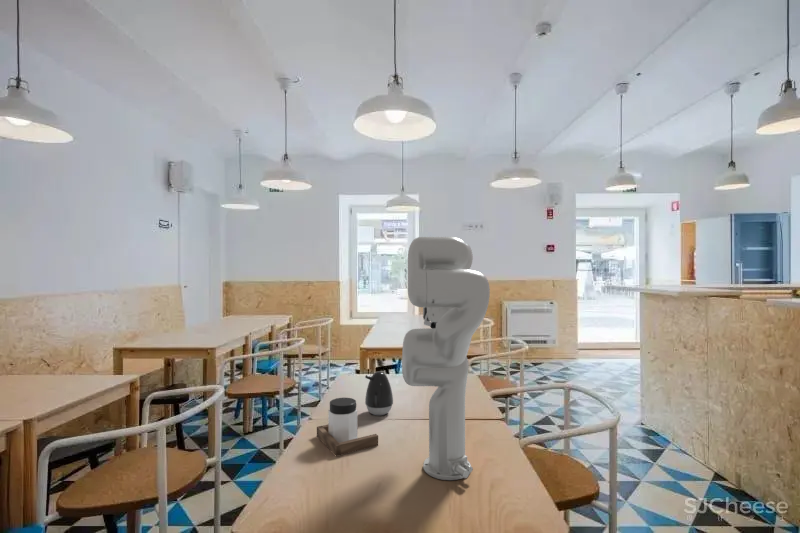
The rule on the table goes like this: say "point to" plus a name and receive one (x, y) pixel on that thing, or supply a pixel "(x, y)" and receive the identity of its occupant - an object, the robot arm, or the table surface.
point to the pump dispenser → (378, 394)
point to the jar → (342, 419)
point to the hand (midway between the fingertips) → (438, 342)
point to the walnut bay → (345, 442)
